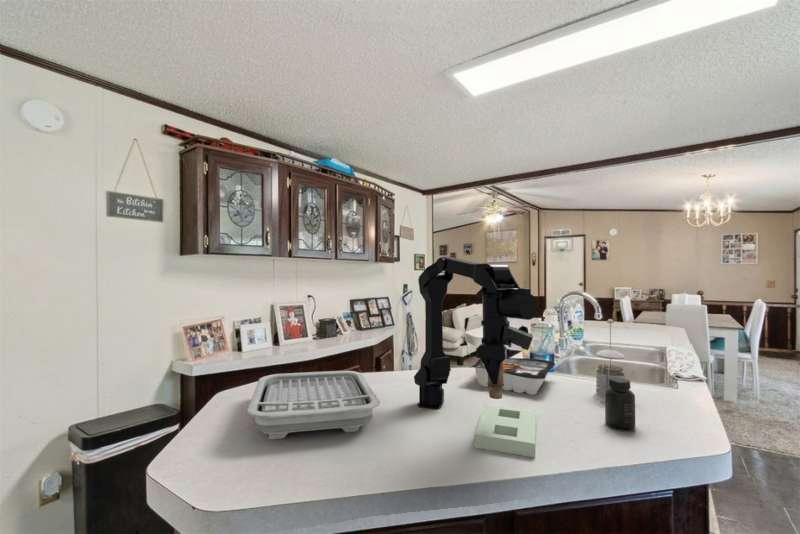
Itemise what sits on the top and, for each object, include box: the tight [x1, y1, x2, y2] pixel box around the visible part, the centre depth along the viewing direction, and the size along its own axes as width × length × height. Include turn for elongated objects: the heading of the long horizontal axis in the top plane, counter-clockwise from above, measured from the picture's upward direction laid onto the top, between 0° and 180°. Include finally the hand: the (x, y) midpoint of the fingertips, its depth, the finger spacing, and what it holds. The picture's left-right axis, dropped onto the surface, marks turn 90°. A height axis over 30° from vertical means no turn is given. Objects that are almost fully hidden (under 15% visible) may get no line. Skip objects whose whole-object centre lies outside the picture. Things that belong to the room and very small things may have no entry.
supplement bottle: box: [604, 378, 636, 432], centre depth 99 cm, size 7×7×12 cm
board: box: [473, 404, 537, 458], centre depth 93 cm, size 20×13×3 cm, turn 160°
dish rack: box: [246, 370, 381, 440], centre depth 105 cm, size 32×37×8 cm
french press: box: [592, 318, 626, 403], centre depth 119 cm, size 10×12×25 cm
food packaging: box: [468, 357, 556, 396], centre depth 134 cm, size 25×8×23 cm
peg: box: [487, 362, 504, 400], centre depth 90 cm, size 4×4×10 cm
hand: (495, 382), depth 90 cm, fingers closed on peg, 4 cm apart
